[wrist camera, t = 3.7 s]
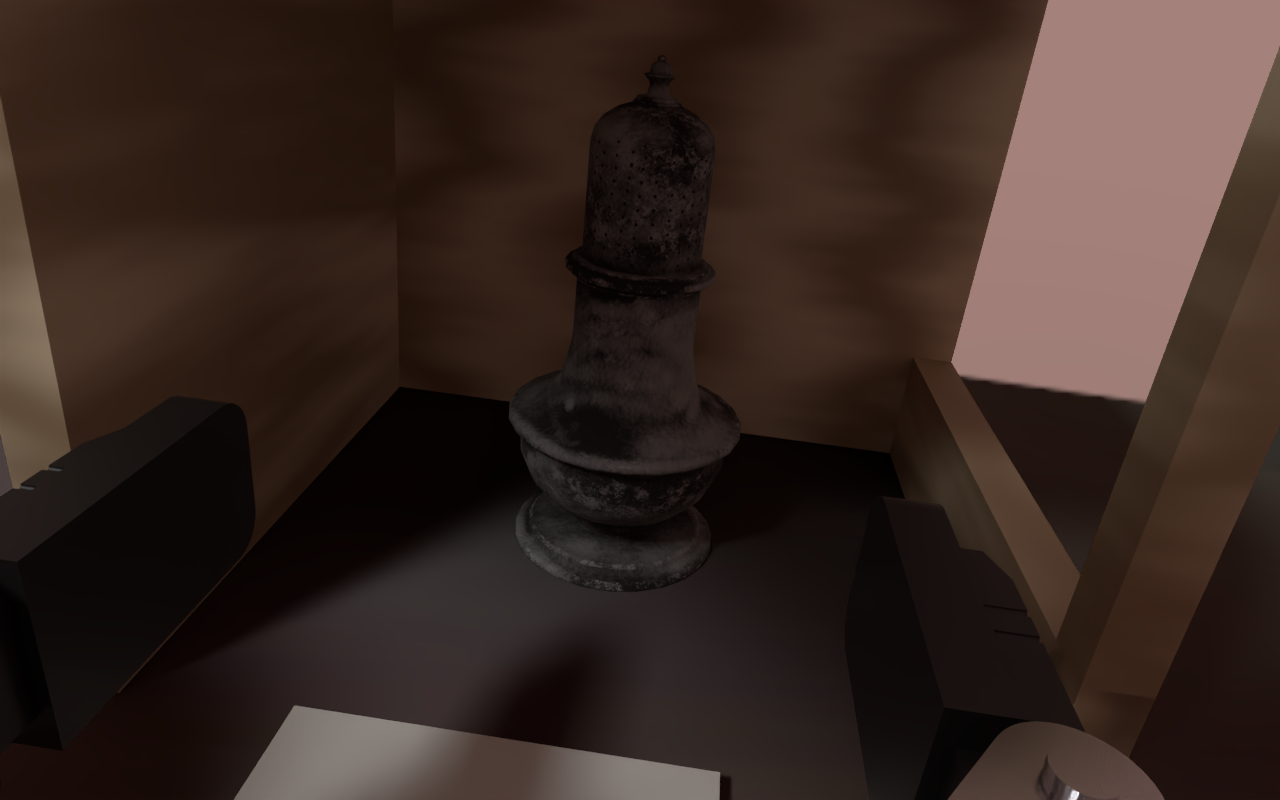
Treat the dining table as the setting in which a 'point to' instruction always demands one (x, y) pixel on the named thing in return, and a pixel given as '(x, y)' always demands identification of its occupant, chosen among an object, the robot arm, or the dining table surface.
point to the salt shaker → (630, 365)
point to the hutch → (553, 226)
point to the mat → (448, 766)
